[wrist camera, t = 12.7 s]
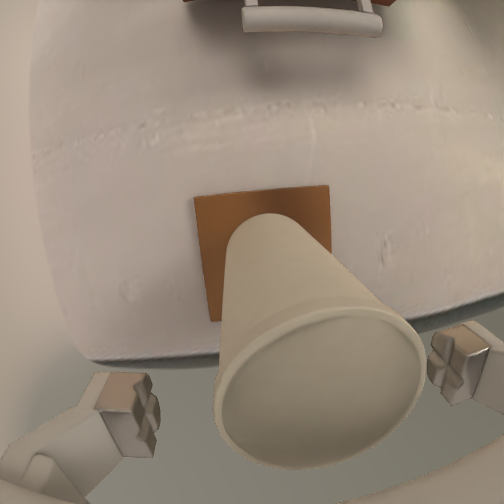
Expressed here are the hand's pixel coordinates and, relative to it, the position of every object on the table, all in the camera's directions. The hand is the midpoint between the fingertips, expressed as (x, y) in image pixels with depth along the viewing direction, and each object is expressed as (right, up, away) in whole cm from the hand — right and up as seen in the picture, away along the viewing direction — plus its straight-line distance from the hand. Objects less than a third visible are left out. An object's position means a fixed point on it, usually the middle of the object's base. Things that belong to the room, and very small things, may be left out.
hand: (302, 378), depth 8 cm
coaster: (0, +3, +12) cm, 12 cm away
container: (0, +3, +11) cm, 12 cm away
